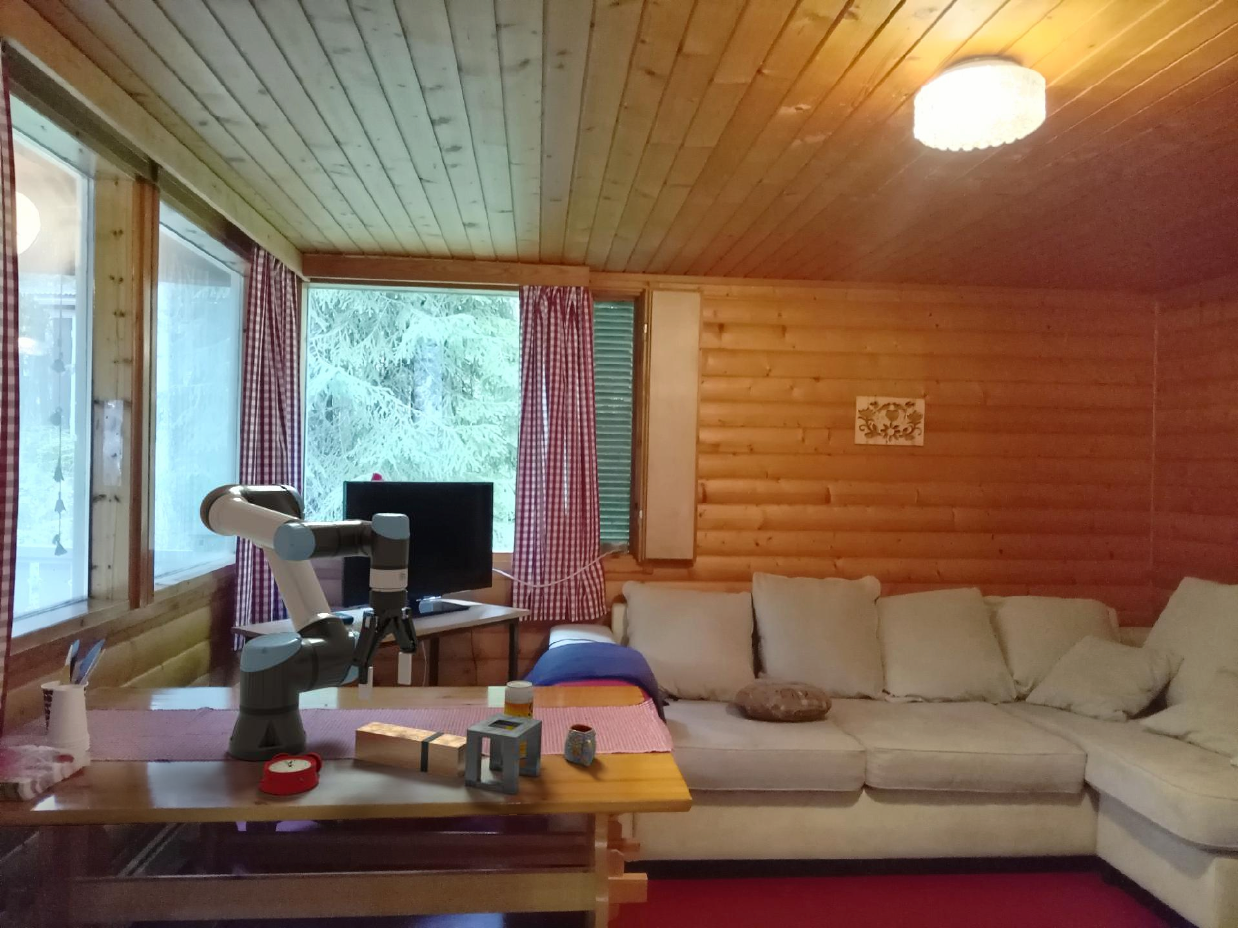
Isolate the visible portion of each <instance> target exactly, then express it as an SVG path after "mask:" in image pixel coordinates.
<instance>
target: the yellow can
mask: <svg viewBox="0 0 1238 928" xmlns="http://www.w3.org/2000/svg"><path fill="white" fill-rule="evenodd" d="M534 691H535V689H534V686H533V683H532V682H531V681H526V680H512V681H509V682H507V683H506V687H505V688H504V701H503V702H504V706H503V708H504V709H503V714H505V715H511V716H518V717H524V718H530V719H534V715H533V714H534ZM515 728H517V727H512V726H506V729H507V730H514V729H515ZM522 758H524V759H525V758H526V740H525V741H524V742H522V743H521V744H520V757H519V759H522Z"/></svg>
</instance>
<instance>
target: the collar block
mask: <svg viewBox="0 0 1238 928" xmlns="http://www.w3.org/2000/svg"><path fill="white" fill-rule="evenodd" d="M506 726H512V727H517V728H515V729H514V730H507V729H506ZM542 732H543V720H542V719H537V718H536V719H535V718H533V719H530V718H524V717H518V716H511V715H505V714H504V713H497V712H495V713H493V714H491V715H490V716H487V717H486V718H484V719H482V720H481V721H478V722H477V723H476V724H474V725H472V726H470V727H468V728H467V729H466V736H465V737H466V760H465V773H464V786H466V787H471V788H474V789H475V788H476V789H480V788H481V789H482V790H487V791H490V790H491V792H497V793H501V792H502V793H501V794H508V795H511V796H512V795H513V796H515V795H516V794H517V793H518V792H519V783H520V782H519V777H520V775H521V776H522V775H523V776H527V777H533V778H537V777H538V776H539V775H541V758H542V738H543V737H542V736H543V735H542V734H543V733H542ZM483 738H485V739H489V761H488V762H489V765H488V768H489V770H494V771H499V772H502V780H501V781H499V780H498V781H497V780H493V779H492V780H491V779H487V778H482V763H483V762H482V760H483V758H482V757H483ZM525 740H526V757H524V759H525V762H524V764H525V765H524V764H520V758H519V757H520V744H521V743H522V742H524V741H525Z"/></svg>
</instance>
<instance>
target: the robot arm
mask: <svg viewBox="0 0 1238 928" xmlns="http://www.w3.org/2000/svg"><path fill="white" fill-rule="evenodd" d="M199 507H200V508H199V517H200V520H201V523H202V524H203V525H204V527H205V528H206V529H207V530H209V531H211V532H212V533H215V534H217V535H220V536H223V537H233V536H237V537H240V538H243V539H244V540H248V541H251V542H252V543H253V545H254V546H256V547H257V548H260V549H262V550H263V551H262V552H263V553H264V555H265V558H266V560H267V563H268V565H269V568H270V571H271V573H272V575H273V578H274V580H275V583H276V586H277V589H278V591H279V594H280V597H281V598H282V600H283V604H284V606H285V609H286V611H287V613H288V615H289V619H290V621H291V624H292V626H293V629H294V631H281V632H273V633H271V632H270V633H267V634H262V635H260V636H257V637H254V638H252V639H249V640H248V641H247V642H246V643H245V644H244V645H243V647H242V649H241V656H240V662H239V669H240V671H239V673H240V675H239V676H240V678H239V701H238V702H239V705H238V706H239V709H238V714H237V718H236V720H235V723H234V726H233V730H232V733H231V735H230V737H229V739H228V749H227V750H228V751H227V752H228V754H229V756H231V757H232V758H235V759H238V760H242V761H270V760H272V759H273V757H274V756H276V755H278V754H281V753H287V754H289V755H290V756H295V755H296V754H298V753H300V752H302V751H304V750H305V749H306V747H307V732H306V730H305V729H304V723H303V720H302V716H301V713H300V694H302V693H306V692H312V691H317V690H321V689H322V690H323V689H326V688H327V689H328V688H331V687H340V686H342V685H344V684H347V683H351V682H354V681H355V680H356V679H357V682H358V694H357V696H358V700H362V701H368V702H371V701H372V700H373V683H374V682H373V681H374V680H373V679H374V678H373V677H374V667H373V666H371V665H372V663H373V661H374V658H375V656H376V655H377V652H378V650H379V649H380V646H381V643H382V641H383V640H384V639H386V638H387V636H389V635H391V634H392V636H393V637H394V640H395V641H396V644H397V645H398V646H399V648H400V650H401V652H399V653H398V668H397V670H398V671H397V684H401V685H408V686H409V685H411V684H412V665H413V664H412V662H413V654H416V653H417V652H418V649H419V647H420V646H419V645H420V643H419V639H418V635H417V633H416V629H415V625H414V622H413V616H412V608H411V607H407V606H408V590H407V589H406V588H407V586H408V576H409V575H408V570H409V569H408V567H409V550H410V536H411V533H410V519H409V516H407V515H406V514H405V513H403V514H402V513H393V512H391V513H389V512H387V513H383V512H382V513H375V514H374V515H372V519H371V521H369V520H363V519H359V518H355V519H353V518H351V519H349V518H348V519H344V520H341V521H340V520H339V521H337V520H336V521H308V520H306V512H305V510H306V504H305V502H304V499H303V496H302V495H301V493H299V491H298V489H295V487H293V486H290V485H288V484H279V483H269V484H236V483H235V484H234V483H231V484H224V485H222V486H218V487H215V488H214V489H212V490H211V491H209V492H208V493H207V494H206V495H205V496H204V498H203V499H202V501H201V504H200V506H199ZM346 557H367V558H370V569H369V570H370V571H369V572H370V573H369V587H370V588H372V589H371V590H370V591H369V608H371V609H372V610H373V615H372V616H367V615H364V616H363V618H362V620H361V621H362V625H361V628H360V629H361V630H360V632H359V631H357V630H356V629H352V628H350V629H347V627H346V625H345V624H344V623H345V622H344V620H343V619H342V618H341V617H340V616H338V615H337V616H336V615H335V614H334V615H333V613H332V611H331V608H330V605H329V604H328V600H327V598H326V596H325V594H324V591H323V589H322V587H321V584H320V582H319V579H318V577H317V574H316V572H315V569H314V568H313V564H312V563H311V560H320V559H331V558H332V559H333V558H346Z"/></svg>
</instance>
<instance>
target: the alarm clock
mask: <svg viewBox="0 0 1238 928" xmlns="http://www.w3.org/2000/svg"><path fill="white" fill-rule="evenodd" d="M322 766H323V759H322V757H321V756H320V755H319V754H317V753H315V752H309V753H306V754H305V755H291V756H290V755H289V754H287V753H281V754H278V755H276V756H274V757H273V759H272V760H267V762H265V764H264V766H263V775H262V779H261V780H260V782H259V789H260V790H261V791H263V792H265V793H267V794H272V795H279V797H285V796H286V795H292V794H297V793H298V794H299V793H302V792H306V791H309V790H311V789H313V788H314V787H316V786H317V785H318V784H320V783H319V782H320V780H319V779H320V778H319V776H318V773H320V772H321V770H322V768H323V767H322Z"/></svg>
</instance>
